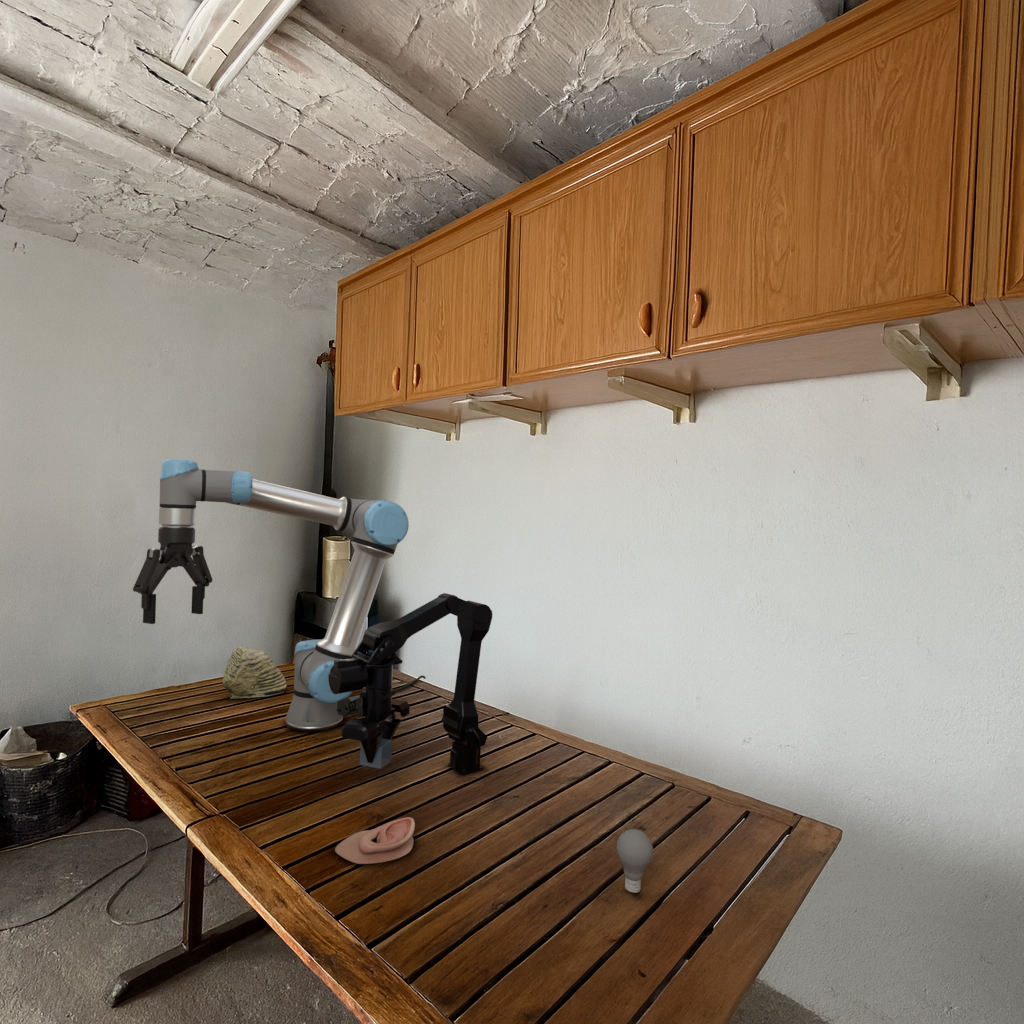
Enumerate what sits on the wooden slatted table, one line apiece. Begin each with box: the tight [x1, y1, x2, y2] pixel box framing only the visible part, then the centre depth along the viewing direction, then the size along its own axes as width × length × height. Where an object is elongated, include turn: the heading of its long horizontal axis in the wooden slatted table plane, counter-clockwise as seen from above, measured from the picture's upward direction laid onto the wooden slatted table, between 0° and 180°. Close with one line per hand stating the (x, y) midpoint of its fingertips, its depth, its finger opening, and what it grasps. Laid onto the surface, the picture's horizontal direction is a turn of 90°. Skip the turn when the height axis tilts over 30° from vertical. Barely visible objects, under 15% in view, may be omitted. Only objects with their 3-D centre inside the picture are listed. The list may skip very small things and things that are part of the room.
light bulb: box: [615, 828, 654, 894], centre depth 106 cm, size 6×6×10 cm
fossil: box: [222, 646, 288, 699], centre depth 198 cm, size 9×18×15 cm, turn 132°
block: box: [359, 738, 393, 770], centre depth 136 cm, size 4×5×5 cm
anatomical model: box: [334, 816, 416, 865], centre depth 115 cm, size 13×4×12 cm
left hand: (174, 618), depth 146 cm, fingers open, 13 cm apart
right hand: (376, 758), depth 136 cm, fingers closed on block, 4 cm apart
